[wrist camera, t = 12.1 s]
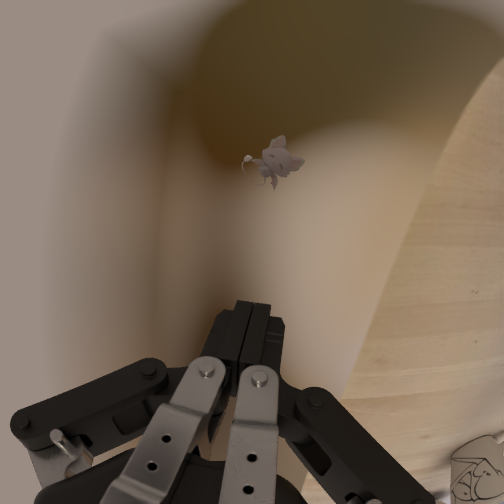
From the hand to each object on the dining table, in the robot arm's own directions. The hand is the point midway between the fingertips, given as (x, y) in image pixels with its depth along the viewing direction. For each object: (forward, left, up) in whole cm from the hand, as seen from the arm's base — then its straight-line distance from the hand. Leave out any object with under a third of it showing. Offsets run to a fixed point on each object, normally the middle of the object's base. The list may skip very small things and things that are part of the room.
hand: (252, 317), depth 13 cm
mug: (+37, -2, -3) cm, 37 cm away
